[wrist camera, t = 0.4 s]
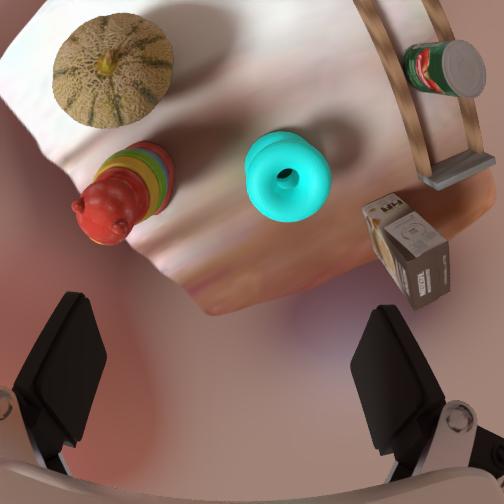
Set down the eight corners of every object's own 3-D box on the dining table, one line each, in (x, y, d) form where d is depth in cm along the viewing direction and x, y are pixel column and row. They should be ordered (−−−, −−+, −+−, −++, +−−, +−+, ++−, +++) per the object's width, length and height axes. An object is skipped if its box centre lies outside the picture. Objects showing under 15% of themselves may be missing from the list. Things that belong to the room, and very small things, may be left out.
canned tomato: (449, 73, 34) (494, 77, 25) (423, 102, 37) (467, 111, 28) (419, 35, 32) (462, 29, 22) (391, 63, 35) (432, 61, 25)
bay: (352, -1, 30) (368, -11, 25) (421, -12, 27) (442, -19, 22) (418, 178, 44) (438, 191, 38) (474, 153, 41) (495, 163, 36)
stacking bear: (100, 182, 42) (40, 236, 27) (130, 126, 38) (69, 153, 23) (157, 218, 46) (121, 288, 30) (192, 165, 42) (165, 214, 26)
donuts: (264, 237, 37) (232, 160, 32) (259, 206, 45) (234, 144, 41) (343, 210, 35) (320, 130, 31) (322, 184, 44) (302, 120, 39)
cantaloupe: (69, 72, 33) (6, 75, 20) (146, 5, 29) (105, -27, 16) (122, 142, 39) (73, 170, 26) (204, 79, 36) (186, 73, 23)
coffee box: (359, 207, 46) (405, 260, 32) (393, 191, 45) (448, 238, 31) (373, 252, 50) (414, 312, 36) (404, 237, 49) (452, 292, 35)
